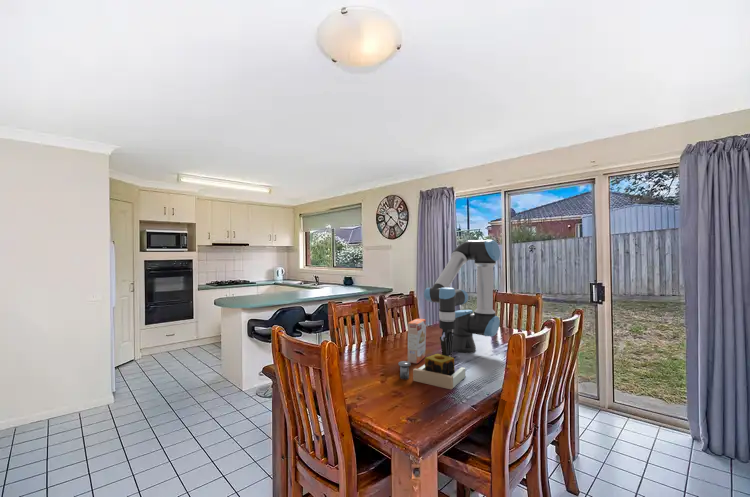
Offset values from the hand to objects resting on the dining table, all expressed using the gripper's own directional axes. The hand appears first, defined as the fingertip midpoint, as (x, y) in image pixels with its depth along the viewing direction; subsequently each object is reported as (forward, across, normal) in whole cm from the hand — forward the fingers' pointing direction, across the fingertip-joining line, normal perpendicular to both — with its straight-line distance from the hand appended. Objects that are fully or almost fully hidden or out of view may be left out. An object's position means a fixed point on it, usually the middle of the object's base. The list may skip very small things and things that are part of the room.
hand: (447, 369), depth 166 cm
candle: (+2, +10, 0) cm, 10 cm away
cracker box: (+2, -10, -21) cm, 23 cm away
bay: (+2, +8, 0) cm, 8 cm away
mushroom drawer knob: (+2, +17, -14) cm, 22 cm away
